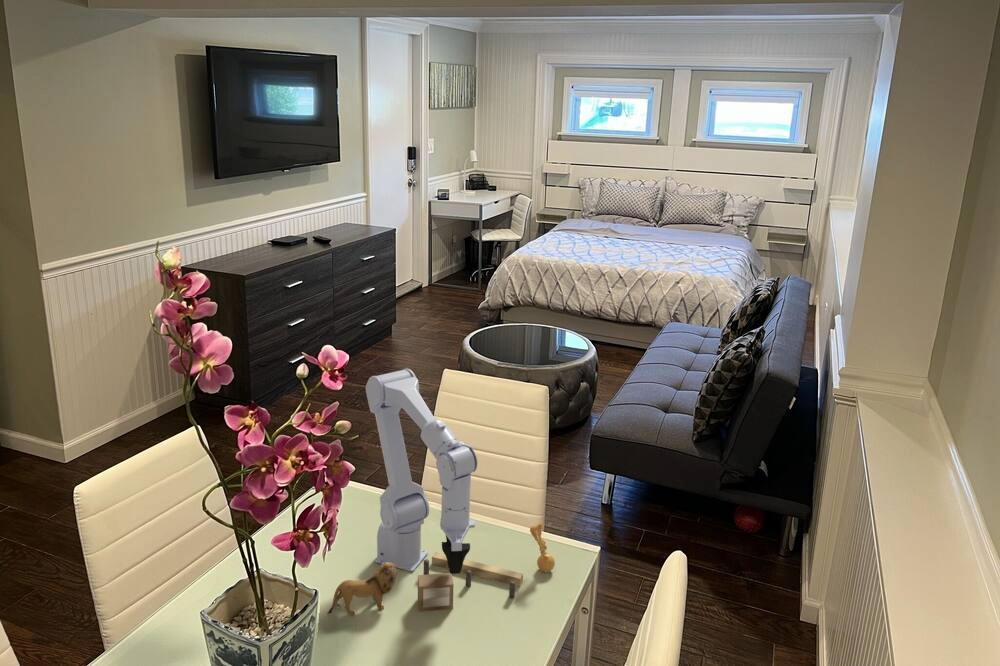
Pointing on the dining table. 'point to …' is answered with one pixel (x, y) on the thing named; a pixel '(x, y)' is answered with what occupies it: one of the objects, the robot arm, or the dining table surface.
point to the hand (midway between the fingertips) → (454, 561)
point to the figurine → (542, 550)
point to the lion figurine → (366, 588)
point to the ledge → (480, 572)
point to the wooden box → (435, 592)
